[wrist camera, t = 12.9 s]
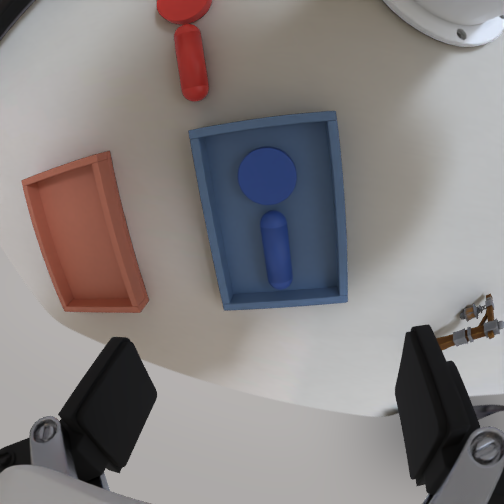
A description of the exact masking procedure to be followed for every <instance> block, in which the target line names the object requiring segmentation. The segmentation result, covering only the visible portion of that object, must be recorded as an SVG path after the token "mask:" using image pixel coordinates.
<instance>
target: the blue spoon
mask: <svg viewBox="0 0 504 504" xmlns="http://www.w3.org/2000/svg"><path fill="white" fill-rule="evenodd" d="M296 181H297V171H296V167H295V164H294V162H293V160H292V159H291V157H290V156H289V155H288V154H287V153H286V152H284V151H283V150H281V149H278V148H275V147H269V146H267V147H260V148H257V149H255V150H253V151H251V152H250V153H249V154H247V155H246V156H245V157H244V159H243V160H242V161H241V163H240V165H239V169H238V183H239V186H240V188H241V190H242V192H243V193H244V194H245V196H246V197H247V198H249V199H250V200H251V201H253V202H255V203H258V204H261V205H275V204H278V203H280V202H282V201H284V200H285V199H287V198H288V197H289V196H290V195H291V193H292V192H293V190H294V188H295V185H296ZM260 229H261V236H262V243H263V250H264V257H265V264H266V271H267V278H268V282H269V284H270V285H271V286H272V287H273V288H274V289H277V290H283V289H286V288H287V287H289V286H290V284H291V283H292V279H293V274H292V264H291V255H290V246H289V237H288V228H287V221H286V218H285V216H284V215H283V214H282V213H281V212H279V211H275V210H272V211H268V212H266V213H265V214H264V215H263V216H262V218H261V220H260Z"/></svg>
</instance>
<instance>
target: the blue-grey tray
mask: <svg viewBox="0 0 504 504" xmlns="http://www.w3.org/2000/svg"><path fill="white" fill-rule="evenodd" d="M336 120H337V116H336V111H324V112H312V113H301V114H291V115H282V116H273V117H266V118H258V119H251V120H244V121H238V122H232V123H226V124H220V125H214V126H209V127H204V128H198V129H193V130H189V131H188V132H189V138H190V139H191V140H190V143H191V149H192V155H193V160H194V166H195V171H196V177H197V182H198V187H199V193H200V198H201V203H202V208H203V213H204V218H205V223H206V228H207V233H208V238H209V243H210V248H211V253H212V257H213V262H214V267H215V271H216V276H217V281H218V285H219V290H220V294H221V299H222V303H223V308H224V310H247V309H266V308H282V307H296V306H310V305H322V304H334V303H345V302H348V272H347V237H346V216H345V199H344V185H343V173H342V162H341V151H340V142H339V133H338V124H337V121H336ZM267 146H269V147H275V148H278V149H281V150H283V151H284V152H286V153H287V154H288V155H289V156H290V157H291V159H292V160H293V162H294V164H295V167H296V171H297V181H296V185H295V188H294V190H293V192H292V193H291V195H290V196H289V197H288V198H287V199H285V200H284V201H282V202H280V203H278V204H275V205H261V204H258V203H255V202H253V201H251V200H250V199H249V198H247V197H246V196H245V194H244V193H243V192H242V190H241V188H240V186H239V183H238V169H239V165H240V163H241V161H242V160H243V159H244V157H245V156H246V155H247V154H249V153H250V152H251V151H253V150H255V149H257V148H260V147H267ZM272 210H275V211H279V212H281V213H282V214H283V215H284V216H285V218H286V221H287V228H288V237H289V246H290V255H291V264H292V274H293V279H292V283H291V284H290V286H289V287H287V288H286V289H283V290H277V289H274V288H273V287H272V286H271V285H270V284H269V282H268V278H267V271H266V264H265V257H264V250H263V243H262V236H261V229H260V220H261V218H262V216H263V215H264V214H265V213H266V212H268V211H272Z"/></svg>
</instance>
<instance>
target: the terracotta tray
mask: <svg viewBox="0 0 504 504" xmlns="http://www.w3.org/2000/svg"><path fill="white" fill-rule="evenodd" d="M22 185H23V190H24V194H25V198H26V202H27V206H28V210H29V213H30V217H31V220H32V224H33V227H34V230H35V234H36V237H37V240H38V243H39V246H40V249H41V252H42V255H43V258H44V261H45V264H46V266H47V269H48V272H49V274H50V277H51V280H52V282H53V285H54V287H55V290H56V292H57V295H58V297H59V300H60V302H61V304H62V306H63V309H64V311H65V312H116V313H140V312H141V311H142V309H143V308H144V307H145V305H146V304H147V303H148V301H149V298H148V295H147V292H146V289H145V286H144V283H143V280H142V277H141V273H140V270H139V267H138V263H137V260H136V257H135V253H134V250H133V246H132V243H131V239H130V235H129V232H128V228H127V224H126V220H125V216H124V212H123V208H122V204H121V200H120V196H119V192H118V187H117V183H116V178H115V174H114V169H113V164H112V159H111V154H110V151H107V152H103V153H99V154H95V155H92V156H88V157H85V158H82V159H79V160H76V161H73V162H70V163H67V164H64V165H61V166H59V167H56V168H53V169H50V170H47V171H45V172H42V173H39V174H37V175H34V176H32V177H29V178H27V179H24V180H22Z"/></svg>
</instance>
